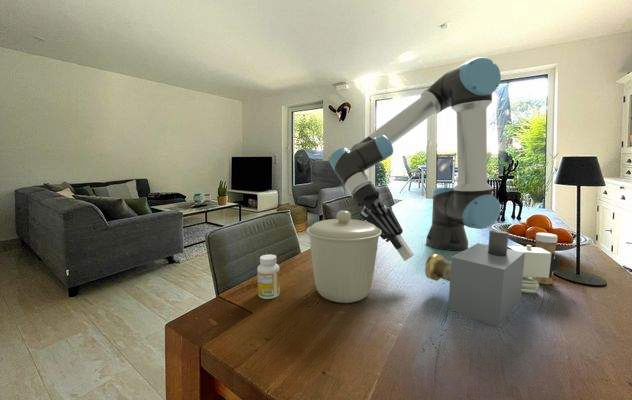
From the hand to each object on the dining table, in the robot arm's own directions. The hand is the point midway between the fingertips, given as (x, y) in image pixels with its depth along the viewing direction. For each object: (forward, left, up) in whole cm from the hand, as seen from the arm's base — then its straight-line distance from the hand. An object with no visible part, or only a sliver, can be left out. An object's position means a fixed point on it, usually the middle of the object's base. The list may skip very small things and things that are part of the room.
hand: (409, 257), depth 77 cm
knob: (-1, +11, -4) cm, 11 cm away
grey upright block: (-5, +19, +5) cm, 20 cm away
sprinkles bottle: (-29, +24, -8) cm, 38 cm away
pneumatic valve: (-19, +22, -8) cm, 30 cm away
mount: (-3, +18, -7) cm, 20 cm away
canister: (+17, -8, -8) cm, 21 cm away
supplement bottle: (+31, -20, -8) cm, 38 cm away
